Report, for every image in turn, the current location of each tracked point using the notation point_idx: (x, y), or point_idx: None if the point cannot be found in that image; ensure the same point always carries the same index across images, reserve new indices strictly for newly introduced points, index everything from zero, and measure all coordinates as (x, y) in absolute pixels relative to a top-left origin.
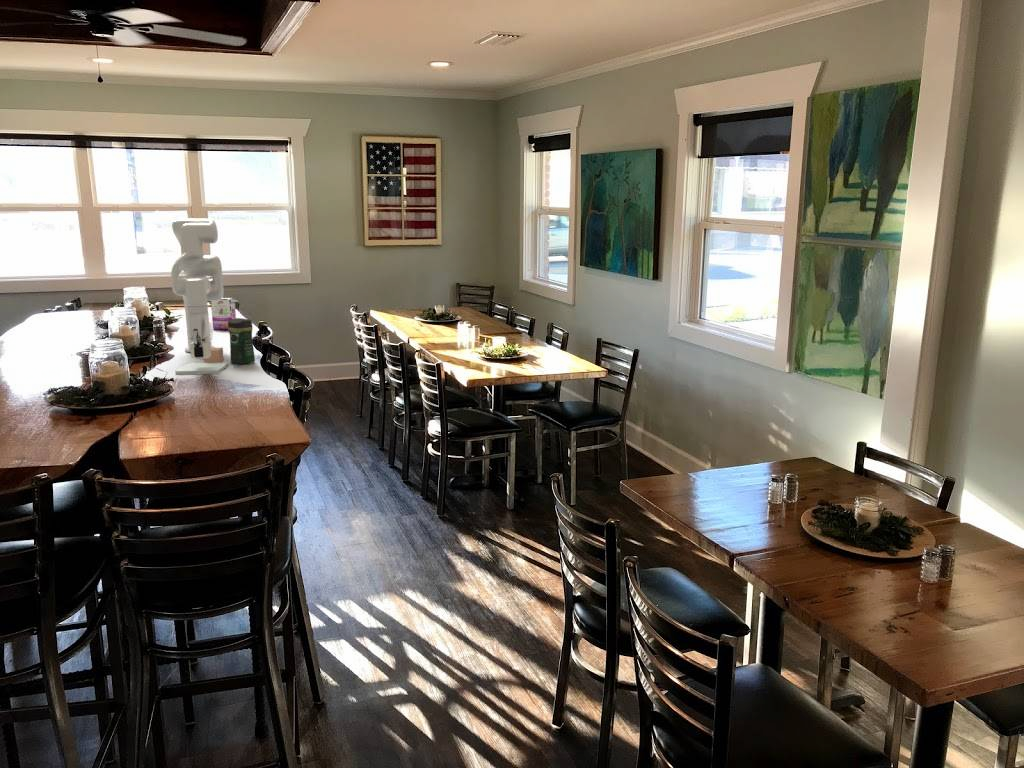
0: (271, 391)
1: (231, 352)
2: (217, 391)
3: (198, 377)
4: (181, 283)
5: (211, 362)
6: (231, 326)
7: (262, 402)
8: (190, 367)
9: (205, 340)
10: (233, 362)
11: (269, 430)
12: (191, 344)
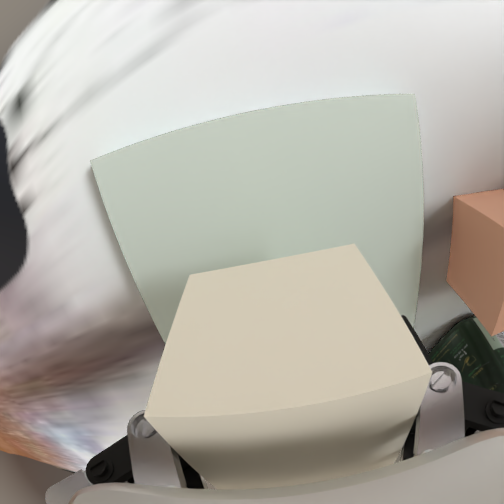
0: (81, 463)
1: (471, 370)
2: (17, 402)
3: (87, 322)
4: None
5: (457, 241)
6: None
7: (31, 447)
8: (245, 194)
9: (402, 455)
10: (442, 340)
11: None
12: (155, 413)
